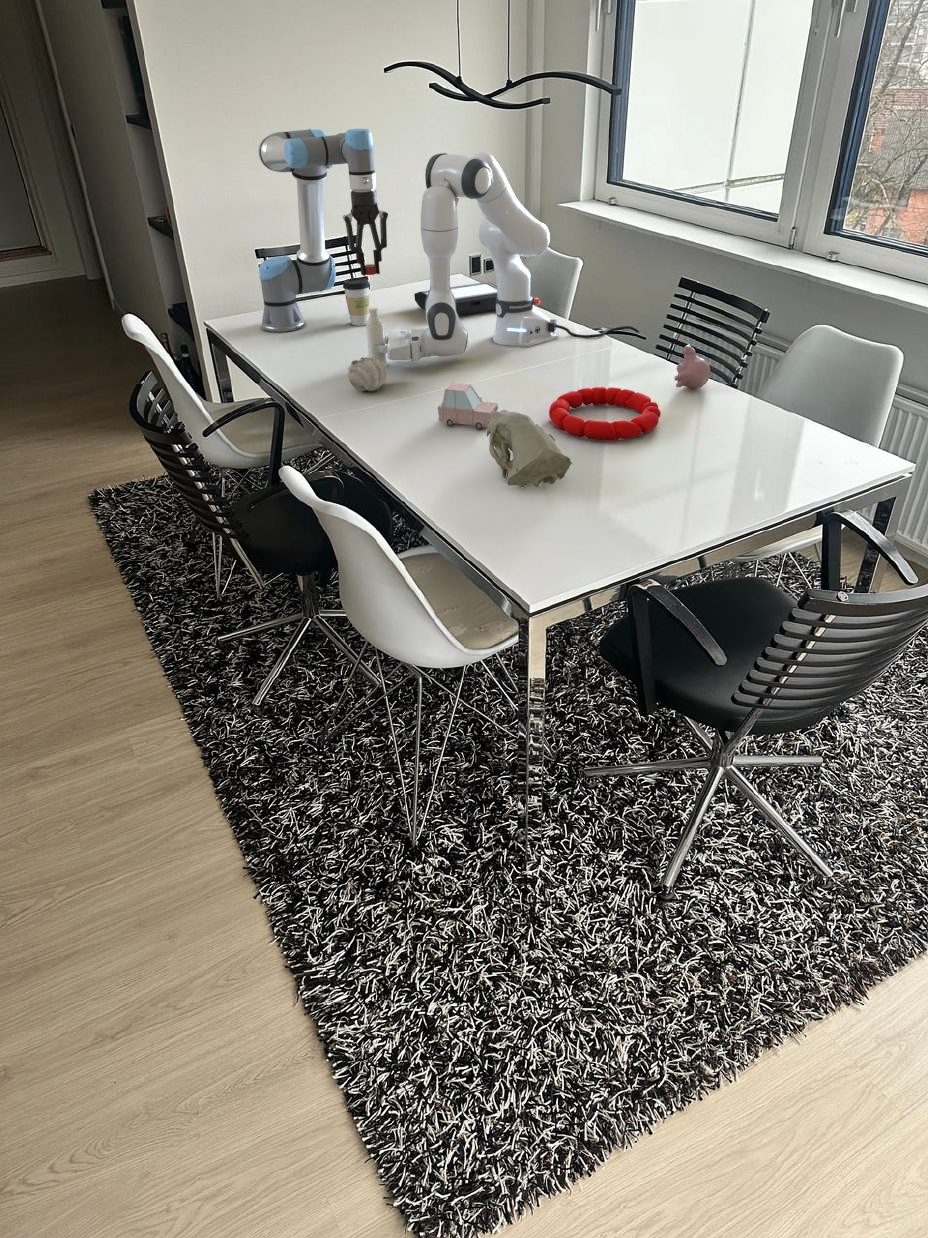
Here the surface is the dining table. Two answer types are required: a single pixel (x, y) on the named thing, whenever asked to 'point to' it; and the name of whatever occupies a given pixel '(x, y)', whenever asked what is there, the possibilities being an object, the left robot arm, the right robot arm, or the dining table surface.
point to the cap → (370, 269)
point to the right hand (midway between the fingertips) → (373, 344)
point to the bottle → (375, 335)
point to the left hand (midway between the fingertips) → (370, 273)
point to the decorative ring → (604, 428)
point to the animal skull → (525, 450)
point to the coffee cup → (357, 299)
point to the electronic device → (468, 298)
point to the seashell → (367, 374)
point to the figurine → (692, 370)
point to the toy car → (465, 406)
